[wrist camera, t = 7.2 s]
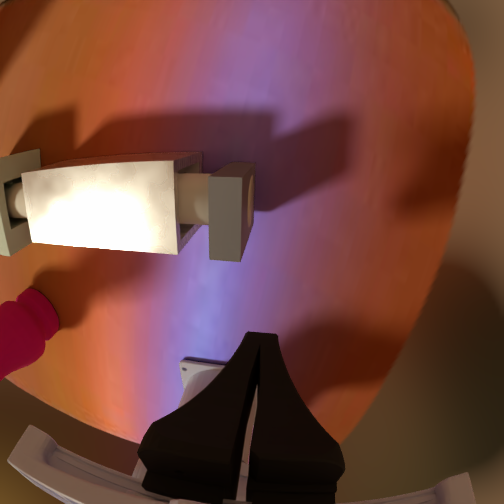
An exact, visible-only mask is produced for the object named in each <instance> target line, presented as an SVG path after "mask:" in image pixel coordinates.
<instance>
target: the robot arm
mask: <svg viewBox="0 0 504 504" xmlns="http://www.w3.org/2000/svg"><path fill="white" fill-rule="evenodd" d="M179 366H180V372H181V377H182V382H183V387H184V393H183V396H182V398H181V401H180V404H179V406H178V409H176V410H175V411H173V412H172V413H170V414H168V415H166V416H164V417H163V418H161V419H159V420H157V421H155V422H153V423H152V424H151V426H150V427H149V429H148V430H147V432H146V433H145V435H144V437H143V439H142V441H141V444H140V447H139V449H138V452H137V453H138V456H139V461H138V463H137V465H136V467H135V469H134V472H133V475H132V477H131V476H129V475H126V474H123V473H120V472H117V471H115V470H112V469H109V468H107V467H104V466H102V465H99V464H97V463H94V462H92V461H90V460H88V459H85V458H83V457H81V456H78V455H77V454H74V453H72V452H70V451H68V450H66V449H64V448H62V447H60V446H58V445H57V444H56V442H55V441H54V440H53V439H52V438H51V437H50V436H49V435H48V434H46V433H45V432H43V431H41V430H39V429H37V428H36V427H34V426H32V425H29V426H28V428H27V429H26V431H25V432H24V434H23V435H22V437H21V438H20V440H19V442H18V443H17V445H16V447H15V448H14V450H13V451H12V453H11V454H10V456H9V458H8V462H9V463H10V464H11V465H12V466H13V467H14V468H15V469H17V470H18V471H19V472H20V473H21V474H22V475H23V476H25V477H26V478H27V479H28V480H30V481H31V482H32V483H33V484H35V485H36V486H37V487H39V488H41V489H42V490H44V491H45V492H47V493H49V494H50V495H52V496H54V497H55V498H57V499H59V500H60V501H62V502H64V503H65V504H335V492H336V491H337V481H338V480H339V478H340V477H341V476H342V475H343V473H344V471H345V463H344V458H343V455H342V451H341V449H340V446H339V444H338V443H337V442H336V441H335V440H334V439H333V438H332V437H331V436H330V435H329V434H328V433H327V432H326V431H325V429H324V428H323V427H322V426H321V425H320V424H319V423H318V421H317V420H316V419H315V417H314V416H313V415H312V413H311V412H310V411H309V409H308V408H307V407H306V405H305V404H304V402H303V400H302V399H301V397H300V395H299V394H298V392H297V390H296V388H295V386H294V384H293V382H292V380H291V378H290V376H289V374H288V371H287V369H286V366H285V363H284V361H283V358H282V354H281V351H280V347H279V341H278V336H277V335H276V334H271V333H260V332H249V331H248V332H247V333H246V334H245V336H244V338H243V340H242V342H241V344H240V345H239V347H238V349H237V350H236V352H235V353H234V355H233V356H232V357H231V359H230V360H229V362H228V363H227V364H226V365H225V366H224V365H216V364H209V363H202V362H196V361H189V360H181V361H180V363H179ZM184 367H185V368H184ZM253 425H254V428H253ZM252 429H253V434H252ZM251 436H252V440H251ZM250 443H251V446H250ZM249 450H250V455H249ZM248 457H249V464H248ZM337 504H476V502H475V497H474V493H473V489H472V485H471V482H470V478H469V474H468V472H465V473H462V474H459V475H456V476H453V477H450V478H447V479H445V480H443V481H441V482H440V483H438V484H437V485H436V486H435V487H433V488H430V489H426V490H422V491H418V492H413V493H409V494H404V495H399V496H394V497H388V498H382V499H376V500H368V501H359V502H350V503H337Z"/></svg>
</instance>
